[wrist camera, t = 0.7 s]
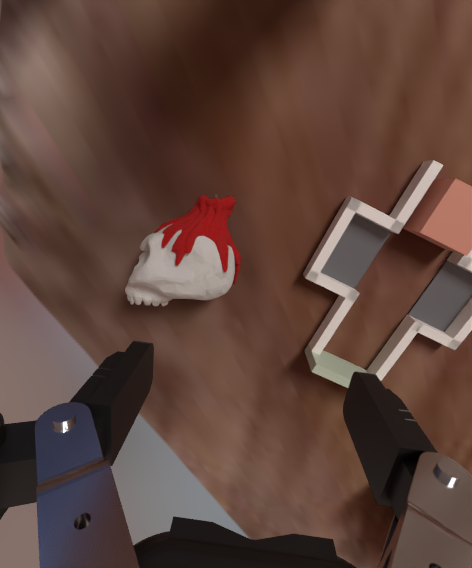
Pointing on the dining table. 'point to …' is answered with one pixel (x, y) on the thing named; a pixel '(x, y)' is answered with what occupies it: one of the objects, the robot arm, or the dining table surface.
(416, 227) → the block
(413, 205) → the box
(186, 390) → the dining table surface
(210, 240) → the white and red lump
